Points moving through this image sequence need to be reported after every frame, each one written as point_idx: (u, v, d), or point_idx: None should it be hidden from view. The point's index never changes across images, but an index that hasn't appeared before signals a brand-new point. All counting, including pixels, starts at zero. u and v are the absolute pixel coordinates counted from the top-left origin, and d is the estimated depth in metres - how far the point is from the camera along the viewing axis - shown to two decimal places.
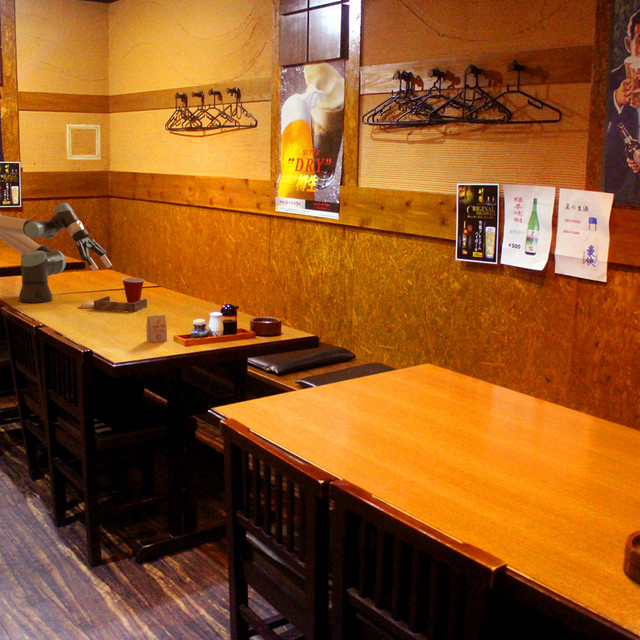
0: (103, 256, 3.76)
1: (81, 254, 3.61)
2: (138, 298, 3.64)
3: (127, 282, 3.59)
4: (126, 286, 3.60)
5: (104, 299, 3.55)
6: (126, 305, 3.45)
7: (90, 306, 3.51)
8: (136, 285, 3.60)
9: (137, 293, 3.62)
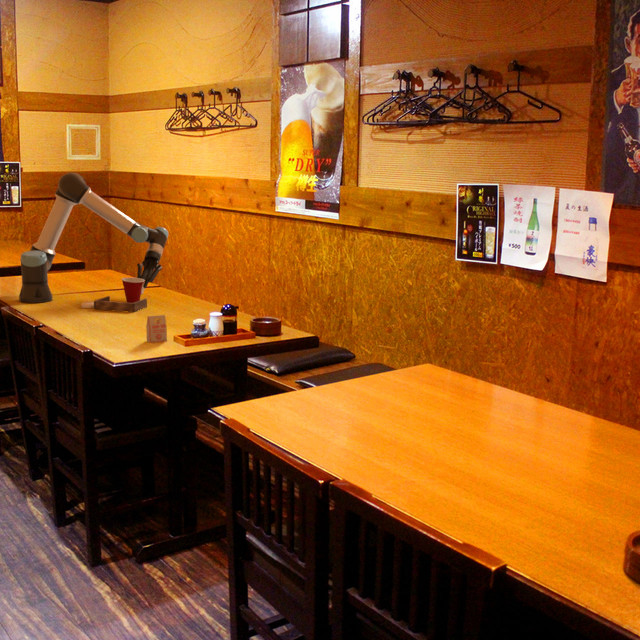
0: None
1: (153, 277, 3.73)
2: (137, 298, 3.63)
3: (126, 282, 3.58)
4: (125, 286, 3.60)
5: (104, 299, 3.55)
6: (126, 305, 3.45)
7: (90, 306, 3.51)
8: (136, 285, 3.60)
9: (136, 293, 3.61)
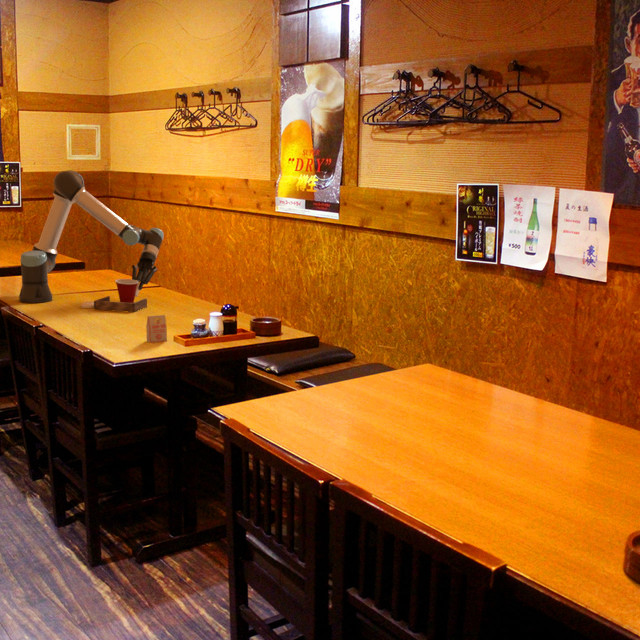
0: None
1: (148, 279, 3.68)
2: (130, 300, 3.57)
3: (118, 284, 3.54)
4: (118, 288, 3.55)
5: (104, 299, 3.55)
6: (126, 305, 3.45)
7: (90, 306, 3.51)
8: (127, 287, 3.54)
9: (128, 295, 3.56)
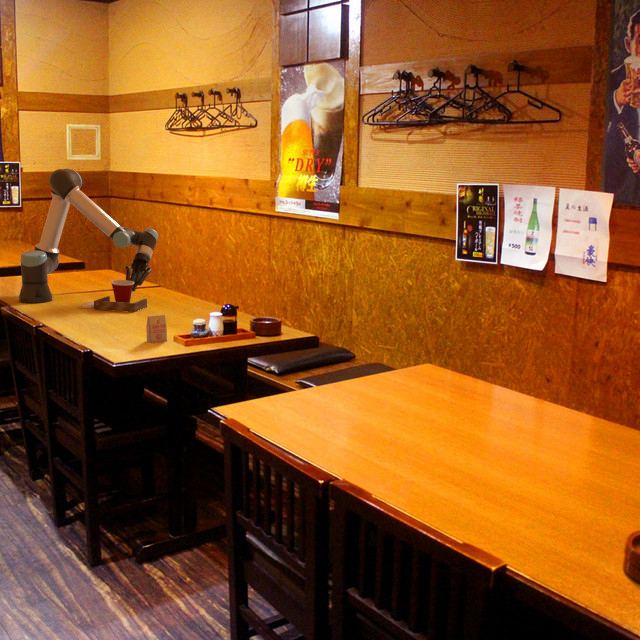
0: None
1: (142, 280, 3.63)
2: (125, 302, 3.54)
3: (113, 284, 3.51)
4: (113, 288, 3.53)
5: (104, 299, 3.55)
6: (126, 305, 3.45)
7: (90, 306, 3.51)
8: (122, 289, 3.51)
9: (123, 296, 3.52)
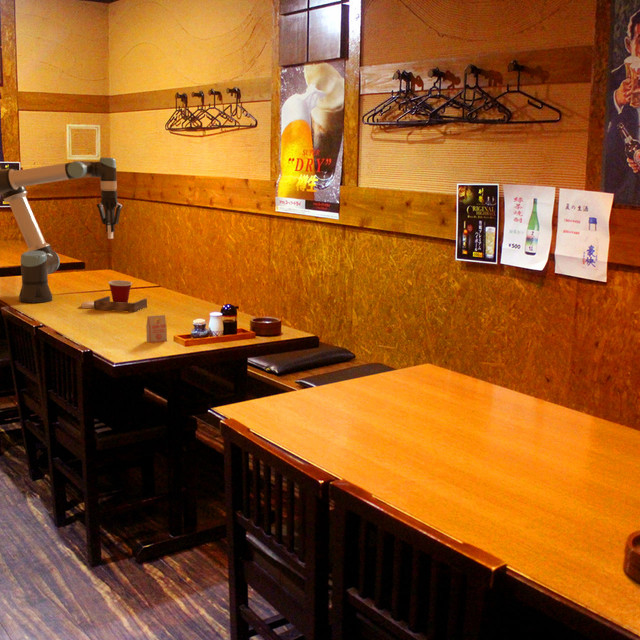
0: None
1: (117, 219, 3.71)
2: None
3: (110, 285, 3.50)
4: (111, 289, 3.51)
5: (104, 299, 3.55)
6: (126, 305, 3.45)
7: (90, 306, 3.51)
8: (119, 289, 3.50)
9: (121, 297, 3.51)
